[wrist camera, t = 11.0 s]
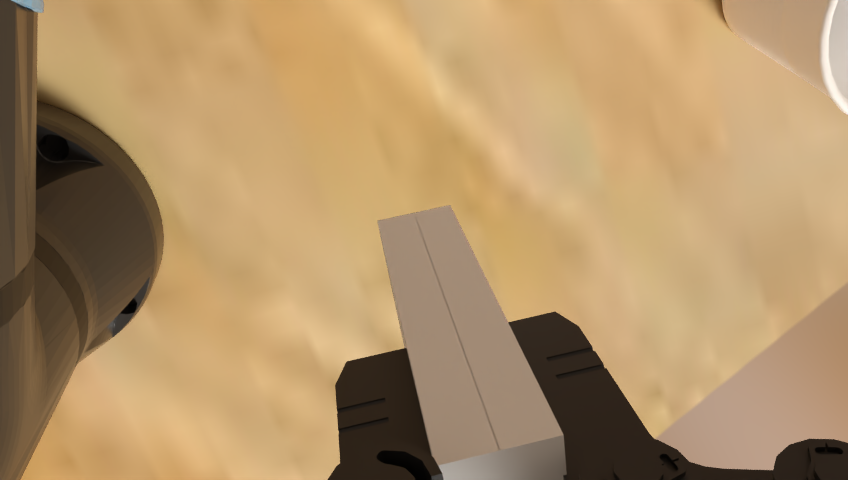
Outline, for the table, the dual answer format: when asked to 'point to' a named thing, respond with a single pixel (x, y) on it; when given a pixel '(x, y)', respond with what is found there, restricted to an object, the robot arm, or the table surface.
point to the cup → (798, 38)
